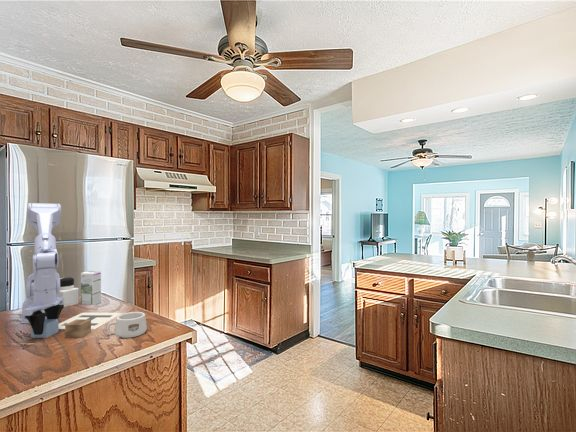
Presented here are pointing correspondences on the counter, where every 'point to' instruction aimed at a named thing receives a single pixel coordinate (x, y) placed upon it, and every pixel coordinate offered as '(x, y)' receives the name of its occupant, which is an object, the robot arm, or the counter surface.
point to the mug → (129, 325)
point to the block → (77, 328)
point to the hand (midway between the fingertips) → (45, 331)
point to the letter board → (95, 318)
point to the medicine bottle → (68, 292)
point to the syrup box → (90, 287)
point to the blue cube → (47, 328)
